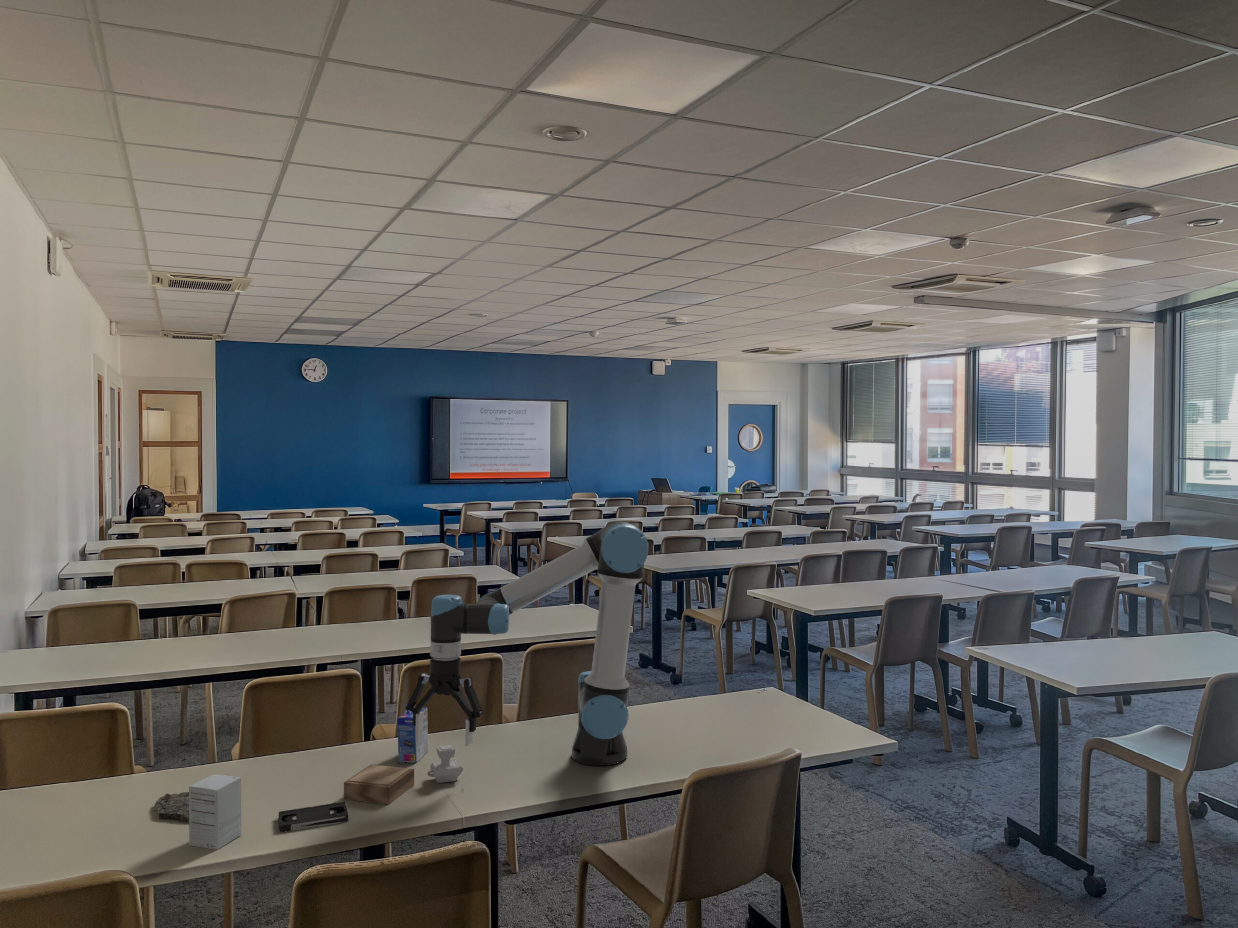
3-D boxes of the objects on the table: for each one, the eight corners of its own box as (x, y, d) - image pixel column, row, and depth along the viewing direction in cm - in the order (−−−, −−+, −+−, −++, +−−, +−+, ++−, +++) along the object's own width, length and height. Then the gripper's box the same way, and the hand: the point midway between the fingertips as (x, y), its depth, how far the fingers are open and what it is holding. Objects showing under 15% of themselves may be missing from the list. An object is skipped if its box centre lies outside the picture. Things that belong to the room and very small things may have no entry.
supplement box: (214, 830, 182) (214, 772, 182) (242, 835, 180) (242, 776, 180) (187, 845, 175) (187, 785, 175) (216, 850, 173) (216, 789, 173)
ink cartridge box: (409, 749, 233) (409, 697, 233) (428, 750, 232) (428, 698, 232) (396, 762, 223) (396, 708, 223) (416, 763, 222) (416, 708, 222)
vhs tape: (279, 834, 181) (279, 825, 181) (278, 820, 189) (278, 811, 189) (348, 823, 187) (348, 814, 187) (345, 809, 194) (344, 801, 194)
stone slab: (179, 796, 202) (179, 784, 202) (236, 804, 197) (236, 791, 197) (136, 818, 190) (135, 805, 190) (195, 827, 185) (195, 813, 185)
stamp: (460, 773, 216) (460, 740, 216) (465, 782, 210) (465, 748, 210) (425, 777, 213) (425, 744, 212) (429, 787, 206) (429, 753, 206)
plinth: (414, 784, 208) (414, 767, 208) (389, 804, 196) (389, 786, 196) (370, 780, 211) (370, 763, 211) (343, 798, 199) (343, 781, 199)
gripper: (393, 656, 210) (391, 740, 210) (485, 664, 204) (483, 751, 204) (407, 650, 218) (406, 731, 218) (497, 657, 211) (495, 741, 212)
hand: (443, 741), depth 211 cm, fingers open, 13 cm apart
